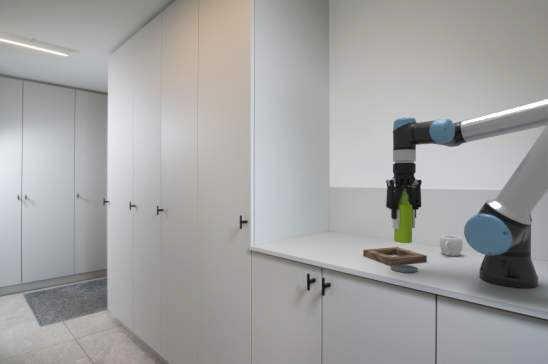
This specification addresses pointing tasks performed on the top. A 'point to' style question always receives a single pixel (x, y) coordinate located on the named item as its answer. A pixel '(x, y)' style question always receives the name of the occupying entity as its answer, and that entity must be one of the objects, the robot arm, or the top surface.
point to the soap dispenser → (404, 220)
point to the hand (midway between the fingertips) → (403, 227)
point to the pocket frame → (402, 257)
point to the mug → (451, 245)
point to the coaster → (404, 268)
